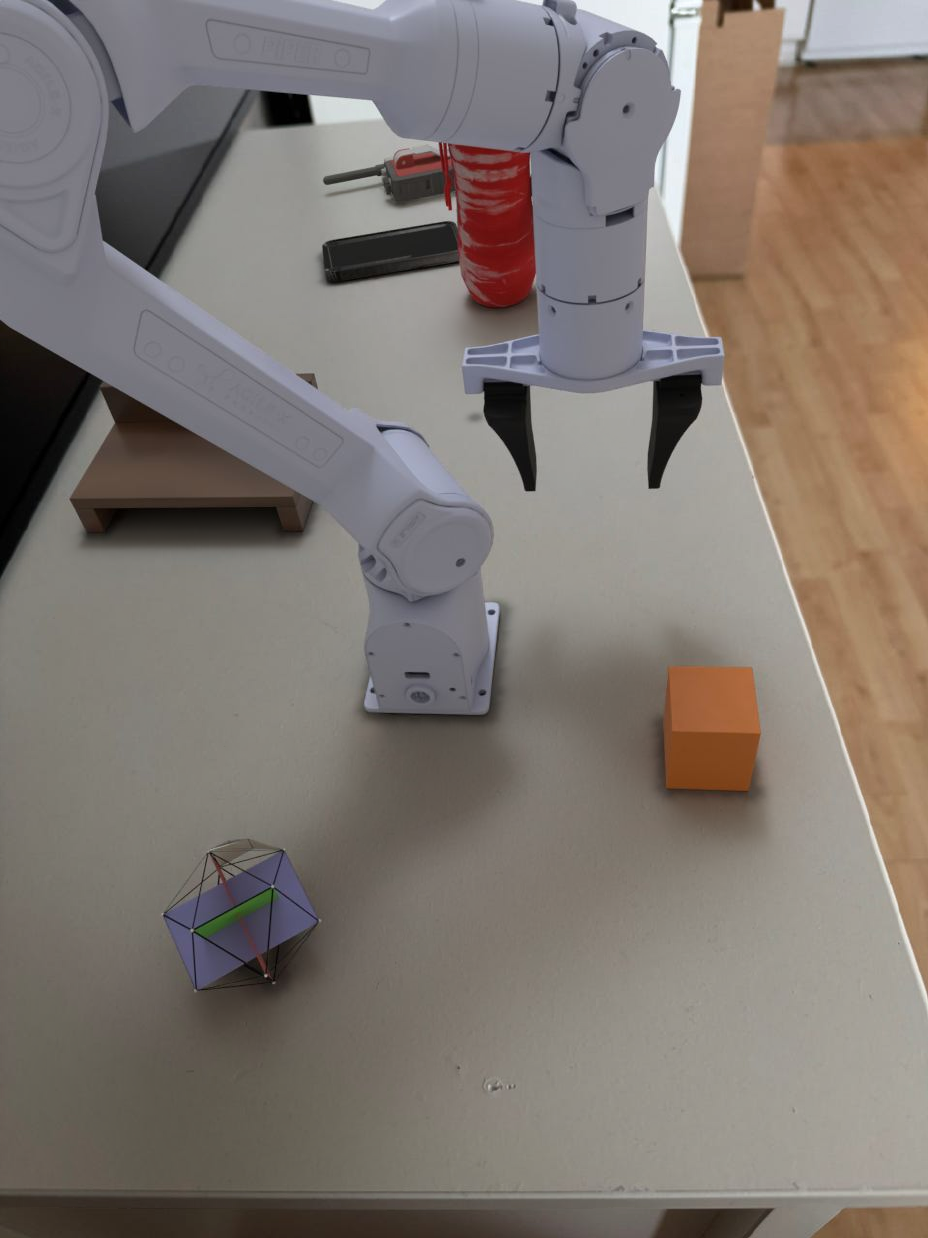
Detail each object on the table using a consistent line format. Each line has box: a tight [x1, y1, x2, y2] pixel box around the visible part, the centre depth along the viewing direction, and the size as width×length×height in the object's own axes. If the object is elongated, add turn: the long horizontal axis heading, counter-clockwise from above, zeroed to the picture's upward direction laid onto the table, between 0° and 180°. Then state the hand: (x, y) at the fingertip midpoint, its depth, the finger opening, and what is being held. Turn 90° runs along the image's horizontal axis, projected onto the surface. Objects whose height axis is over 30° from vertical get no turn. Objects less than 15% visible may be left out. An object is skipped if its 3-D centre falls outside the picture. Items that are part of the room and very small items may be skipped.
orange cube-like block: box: [662, 665, 762, 792], centre depth 54 cm, size 5×5×6 cm
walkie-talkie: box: [322, 144, 455, 203], centre depth 114 cm, size 9×4×20 cm
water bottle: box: [437, 142, 536, 308], centre depth 87 cm, size 12×8×25 cm, turn 91°
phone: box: [321, 220, 459, 283], centre depth 103 cm, size 8×1×15 cm
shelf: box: [69, 372, 319, 533], centre depth 76 cm, size 11×18×7 cm, turn 84°
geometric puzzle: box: [160, 838, 322, 993], centre depth 48 cm, size 7×7×8 cm
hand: (591, 480), depth 60 cm, fingers open, 7 cm apart
